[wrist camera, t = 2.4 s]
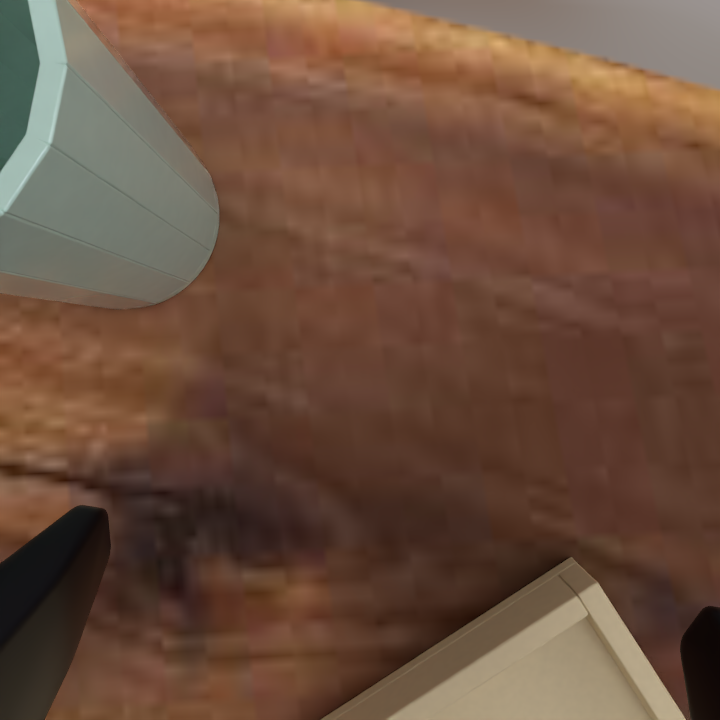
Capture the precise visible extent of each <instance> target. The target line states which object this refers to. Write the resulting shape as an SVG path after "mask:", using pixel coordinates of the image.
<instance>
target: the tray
mask: <svg viewBox="0 0 720 720" xmlns="http://www.w3.org/2000/svg"><path fill="white" fill-rule="evenodd" d="M321 720H686V719H685V717H684V716H683V714H682V713H681V711H680V710H679V708H678V706H677V705H676V703H675V702H674V700H673V699H672V697H671V696H670V694H669V692H668V691H667V689H666V688H665V686H664V685H663V683H662V682H661V680H660V678H659V677H658V675H657V674H656V672H655V671H654V669H653V668H652V666H651V664H650V663H649V661H648V660H647V658H646V657H645V655H644V654H643V652H642V650H641V649H640V647H639V646H638V644H637V643H636V641H635V640H634V638H633V636H632V635H631V633H630V632H629V630H628V629H627V627H626V626H625V624H624V622H623V621H622V619H621V618H620V616H619V615H618V613H617V612H616V610H615V608H614V607H613V605H612V604H611V602H610V601H609V599H608V598H607V596H606V594H605V593H604V591H603V590H602V588H601V587H600V585H599V584H598V582H597V581H596V580H595V579H593V578H592V577H591V576H590V575H589V574H588V573H587V572H586V571H585V570H584V569H583V568H582V567H581V566H580V565H579V564H578V563H577V562H576V561H575V560H574V559H573V558H571V557H570V558H568V559H567V560H565V561H564V562H562V563H561V564H559V565H558V566H556V567H555V568H553V569H551V570H550V571H548V572H547V573H545V574H544V575H542V576H541V577H539V578H538V579H536V580H535V581H533V582H531V583H530V584H528V585H527V586H525V587H524V588H522V589H521V590H519V591H518V592H516V593H515V594H513V595H511V596H510V597H508V598H507V599H505V600H504V601H502V602H501V603H499V604H498V605H496V606H495V607H493V608H491V609H490V610H488V611H487V612H485V613H484V614H482V615H481V616H479V617H478V618H476V619H475V620H473V621H471V622H470V623H468V624H467V625H465V626H464V627H462V628H461V629H459V630H458V631H456V632H455V633H453V634H451V635H450V636H448V637H447V638H445V639H444V640H442V641H441V642H439V643H438V644H436V645H435V646H433V647H431V648H430V649H428V650H427V651H425V652H424V653H422V654H421V655H419V656H418V657H416V658H415V659H413V660H411V661H410V662H408V663H407V664H405V665H404V666H402V667H401V668H399V669H398V670H396V671H395V672H393V673H391V674H390V675H388V676H387V677H385V678H384V679H382V680H381V681H379V682H378V683H376V684H375V685H373V686H371V687H370V688H368V689H367V690H365V691H364V692H362V693H361V694H359V695H358V696H356V697H355V698H353V699H351V700H350V701H348V702H347V703H345V704H344V705H342V706H341V707H339V708H338V709H336V710H335V711H333V712H331V713H330V714H328V715H327V716H325V717H324V718H322V719H321Z"/></svg>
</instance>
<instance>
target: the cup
mask: <svg viewBox="0 0 720 720" xmlns="http://www.w3.org/2000/svg"><path fill="white" fill-rule="evenodd" d="M218 228H219V204H218V197H217V193H216V190H215V186H214V183H213V181H212V178H211V176H210V174H209V172H208V170H207V169H206V167H205V165H204V163H203V162H202V161H201V159H200V158H199V157H198V155H197V154H196V152H195V151H194V149H193V148H192V146H191V144H190V143H189V142H188V141H187V139H186V138H185V137H184V136H183V134H182V133H181V132H180V131H179V129H178V128H177V127H176V126H175V124H174V123H173V122H172V120H171V119H170V118H169V117H168V115H167V114H166V113H165V112H164V110H163V109H162V108H161V107H160V105H159V104H158V103H157V102H156V100H155V99H154V98H153V96H152V95H151V94H150V93H149V91H148V90H147V89H146V88H145V86H144V85H143V84H142V83H141V81H140V80H139V79H138V78H137V76H136V75H135V74H134V72H133V71H132V70H131V69H130V67H129V66H128V65H127V64H126V62H125V61H124V60H123V59H122V57H121V56H120V55H119V53H118V52H117V51H116V50H115V48H114V47H113V46H112V45H111V43H110V42H109V41H108V40H107V38H106V37H105V36H104V35H103V33H102V32H101V31H100V29H99V28H98V27H97V26H96V24H95V23H94V22H93V21H92V19H91V18H90V17H89V16H88V14H87V13H86V12H85V11H84V9H83V8H82V7H81V5H80V4H79V3H78V2H77V0H0V293H1V294H8V295H15V296H22V297H29V298H37V299H44V300H51V301H58V302H65V303H73V304H80V305H87V306H94V307H101V308H109V309H116V310H122V309H135V308H143V307H147V306H151V305H155V304H158V303H160V302H163V301H165V300H167V299H169V298H171V297H173V296H175V295H176V294H178V293H179V292H181V291H182V290H183V289H185V288H186V287H187V286H188V285H189V284H190V283H191V282H192V281H193V280H194V279H195V278H196V277H197V276H198V275H199V273H200V272H201V271H202V270H203V268H204V267H205V265H206V263H207V261H208V260H209V258H210V256H211V253H212V251H213V249H214V246H215V242H216V239H217V235H218Z"/></svg>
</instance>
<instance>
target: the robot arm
mask: <svg viewBox="0 0 720 720" xmlns="http://www.w3.org/2000/svg"><path fill="white" fill-rule="evenodd" d="M110 549H111V542H110V532H109V521H108V514H107V512H106V510H105V509H102V508H97V507H91V506H85V505H79V506H76V507H74V508H73V509H71V510H70V511H69V512H67V513H66V514H65V515H63V516H62V517H61V518H59V519H58V520H57V521H56V522H54V523H53V524H52V525H50V526H49V527H48V528H46V529H45V530H44V531H42V532H41V533H40V534H38V535H37V536H36V537H34V538H33V539H32V540H30V541H29V542H28V543H27V544H25V545H24V546H23V547H21V548H20V549H19V550H17V551H16V552H15V553H13V554H12V555H11V556H9V557H8V558H7V559H5V560H4V561H3V562H1V563H0V720H44V719H45V717H46V715H47V713H48V711H49V709H50V707H51V705H52V703H53V701H54V699H55V697H56V694H57V692H58V690H59V688H60V686H61V684H62V682H63V680H64V678H65V676H66V673H67V671H68V669H69V667H70V665H71V662H72V660H73V658H74V655H75V652H76V650H77V647H78V644H79V641H80V639H81V636H82V633H83V630H84V627H85V625H86V622H87V619H88V616H89V613H90V610H91V608H92V605H93V602H94V599H95V596H96V594H97V591H98V588H99V585H100V582H101V579H102V577H103V574H104V571H105V568H106V565H107V562H108V559H109V555H110ZM680 653H681V660H682V666H683V672H684V679H685V685H686V691H687V698H688V704H689V710H690V716H691V720H720V608H719V607H713V606H708V607H705V608H703V609H702V610H701V612H700V613H699V614H698V616H697V617H696V618H695V620H694V621H693V622H692V624H691V625H690V627H689V628H688V629H687V631H686V632H685V633H684V635H683V637H682V640H681V645H680Z"/></svg>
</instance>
